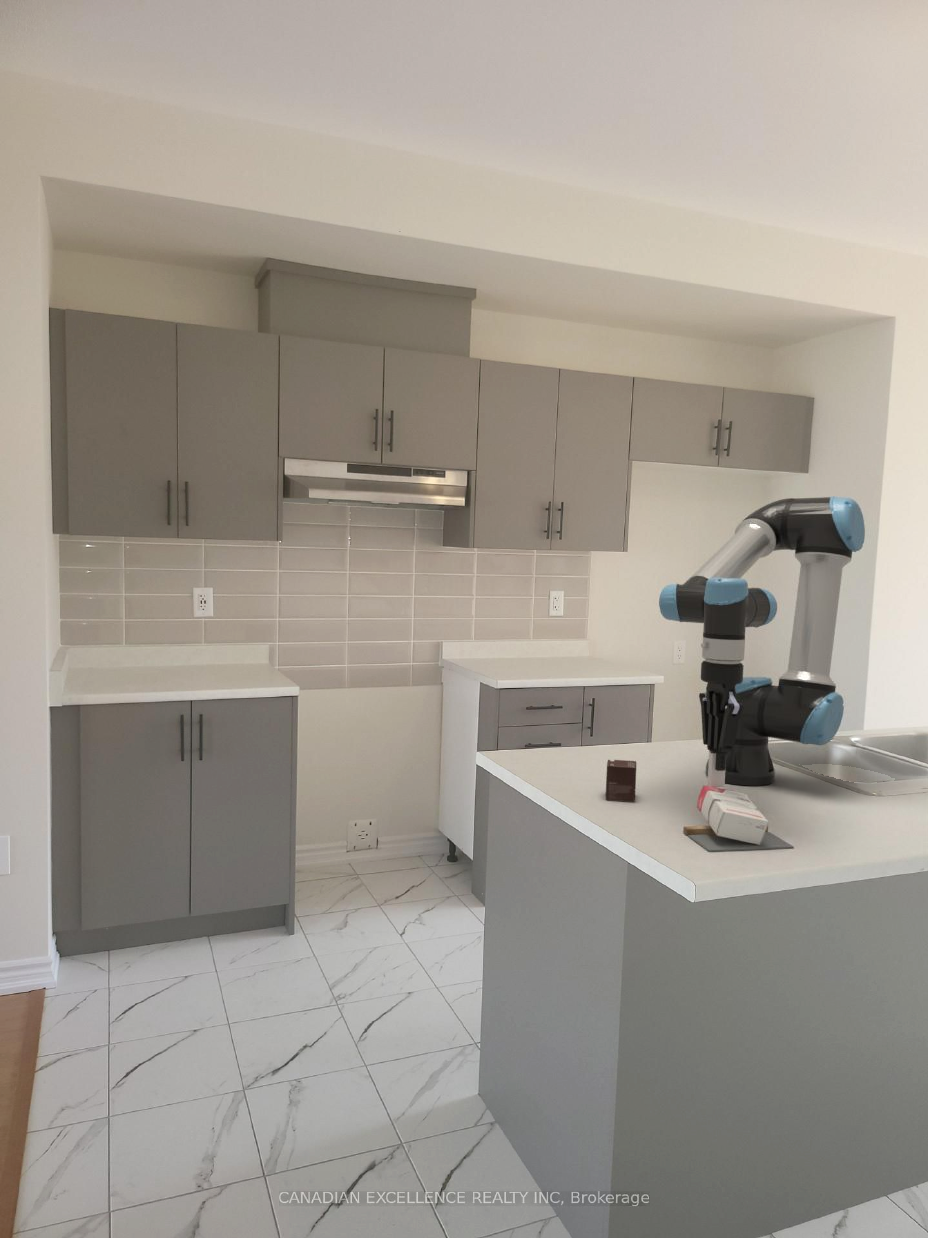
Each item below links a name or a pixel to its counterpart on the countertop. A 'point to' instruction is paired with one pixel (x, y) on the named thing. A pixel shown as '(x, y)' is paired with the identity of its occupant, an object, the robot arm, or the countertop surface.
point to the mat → (738, 843)
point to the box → (621, 780)
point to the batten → (700, 830)
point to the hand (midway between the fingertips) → (715, 786)
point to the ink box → (732, 815)
